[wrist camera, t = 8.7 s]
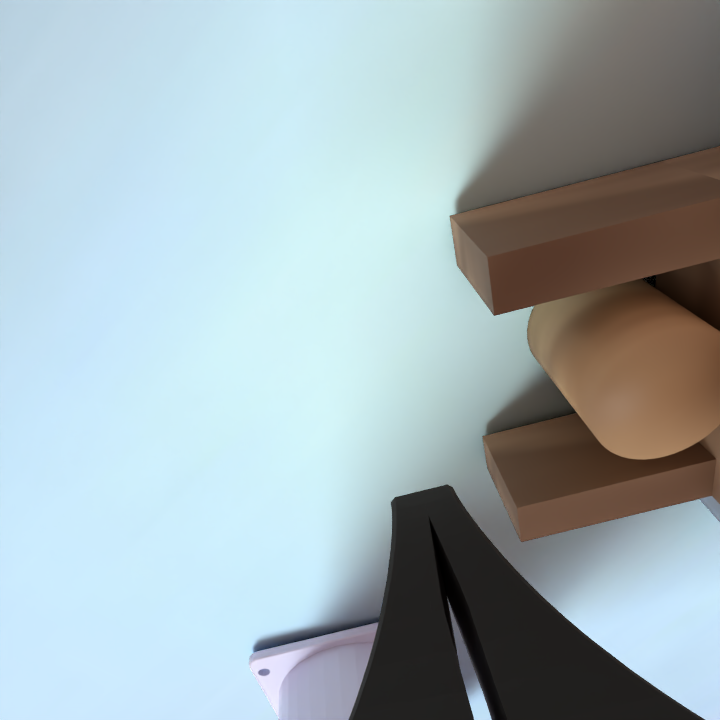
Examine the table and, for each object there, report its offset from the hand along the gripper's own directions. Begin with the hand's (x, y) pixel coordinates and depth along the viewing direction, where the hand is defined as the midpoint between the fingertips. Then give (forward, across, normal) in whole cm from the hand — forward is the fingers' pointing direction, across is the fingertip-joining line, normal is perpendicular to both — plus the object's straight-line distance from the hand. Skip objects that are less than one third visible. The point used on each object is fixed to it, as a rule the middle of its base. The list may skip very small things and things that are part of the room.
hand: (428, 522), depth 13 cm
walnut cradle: (+6, -7, 0) cm, 9 cm away
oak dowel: (+6, -7, 0) cm, 9 cm away
